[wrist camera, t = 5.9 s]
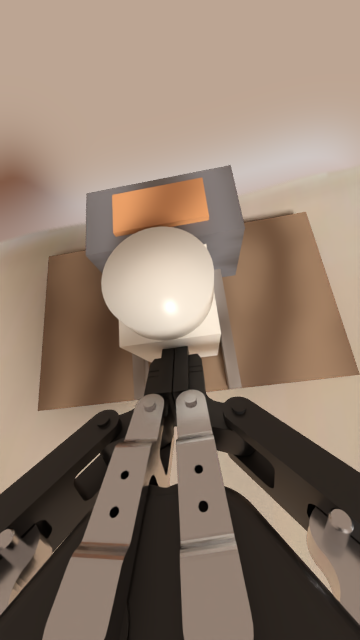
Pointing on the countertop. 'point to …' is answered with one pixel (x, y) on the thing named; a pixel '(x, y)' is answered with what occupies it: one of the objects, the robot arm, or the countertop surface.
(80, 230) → the countertop surface
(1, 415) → the countertop surface
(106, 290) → the plunger knob
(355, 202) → the countertop surface
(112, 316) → the knob mount
